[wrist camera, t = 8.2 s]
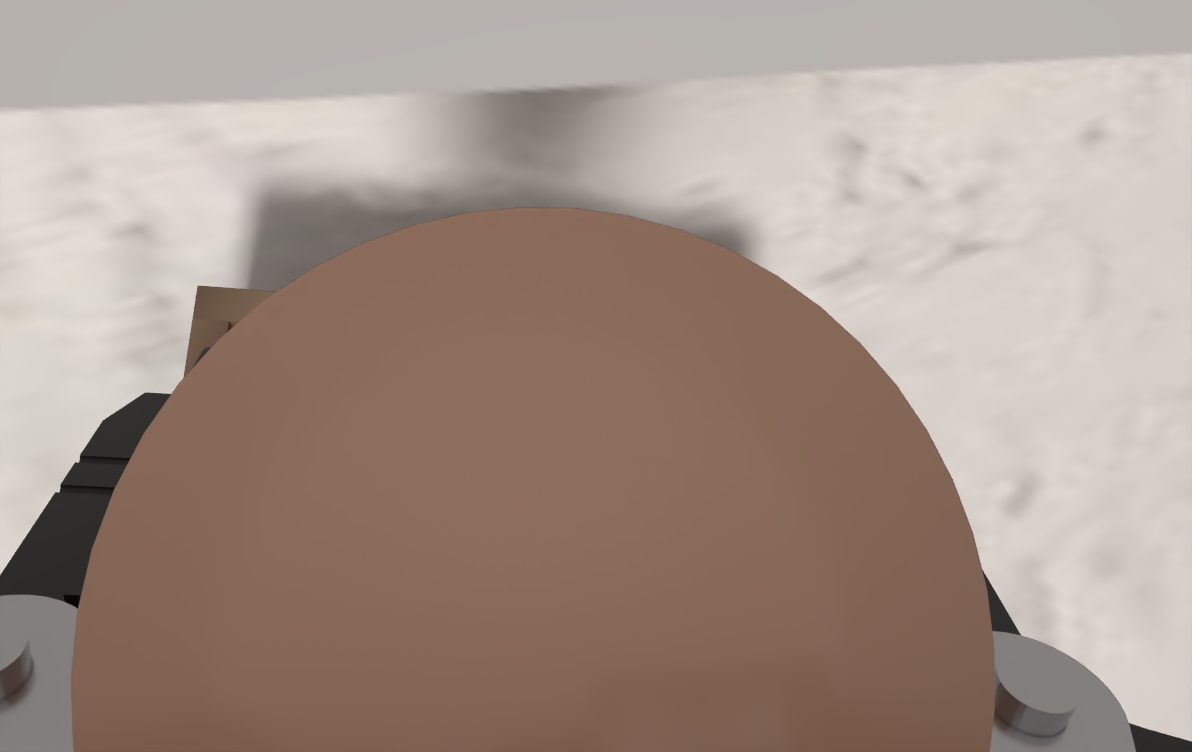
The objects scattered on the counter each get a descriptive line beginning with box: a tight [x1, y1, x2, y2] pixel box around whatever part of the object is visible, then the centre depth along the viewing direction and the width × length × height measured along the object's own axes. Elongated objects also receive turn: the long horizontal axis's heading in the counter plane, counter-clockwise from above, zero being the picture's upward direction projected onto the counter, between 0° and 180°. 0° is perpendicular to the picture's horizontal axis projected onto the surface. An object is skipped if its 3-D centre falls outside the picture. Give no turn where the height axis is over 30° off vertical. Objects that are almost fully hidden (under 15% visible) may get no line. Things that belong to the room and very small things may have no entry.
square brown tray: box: [184, 286, 276, 377], centre depth 24 cm, size 14×14×4 cm
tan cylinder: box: [71, 207, 995, 752], centre depth 10 cm, size 5×5×9 cm
